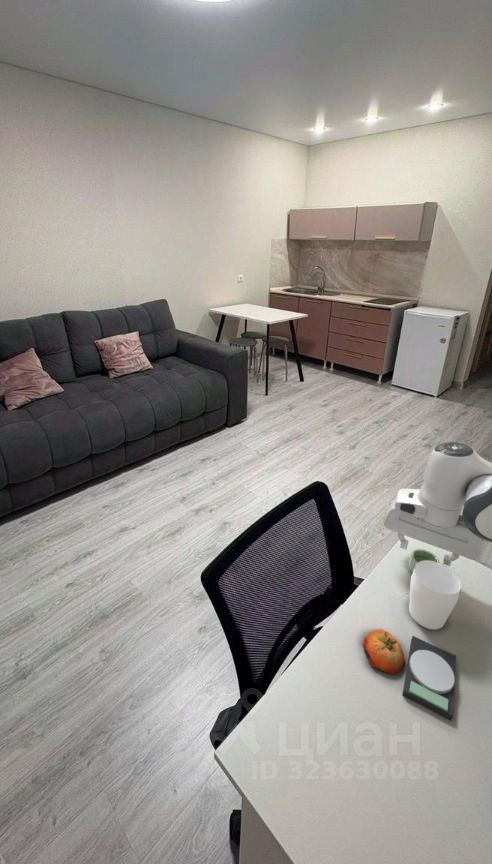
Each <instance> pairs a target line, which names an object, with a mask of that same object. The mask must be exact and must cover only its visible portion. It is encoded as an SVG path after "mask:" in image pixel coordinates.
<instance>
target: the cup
mask: <svg viewBox="0 0 492 864" xmlns="http://www.w3.org/2000/svg"><path fill="white" fill-rule="evenodd" d="M409 586H410V587H409V607H408V610H409V614H410V616H411V617H412V619H413V620H415V622H416V623H417V624H419V625H420V626H421V627H424V628H426V629H430V630H439V629H441V628H443V626H445V623H446V622H447V620H448V619H449V617H450V615H451V613H452V612H453V610H454V608H455V606H456V605H457V603H458V601H459V599H460V593H461V589H462V581H461V579H460V577H459V576H458V575H457V573H456V572H455V571H454V570H452V568H450V567H449V566H448V565H445V564H443V563H441V562H440V563H438V562H435V561H430V560H424V561H420V562H418V563H417V564H416V565H415V568H414V571H413V573H412V574H411V576H410V585H409Z"/></svg>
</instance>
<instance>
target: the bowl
mask: <svg viewBox="0 0 492 864" xmlns="http://www.w3.org/2000/svg"><path fill="white" fill-rule="evenodd" d="M424 560H430V561H435V562H438V563H441V562H440V559H439V558H438V557H437V555H435V554H434V553H433V552H432V551H430V550H427V549H423V548H417V549H413V550H412V551H411V552H410V557H409V560H408V561H409V562H408V568H409V570H410V571H411V573H412V574H413V571H414V568H415V565H416V564H417V563H418V562H420V561H424Z"/></svg>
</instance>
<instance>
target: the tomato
mask: <svg viewBox="0 0 492 864" xmlns="http://www.w3.org/2000/svg"><path fill="white" fill-rule="evenodd" d="M363 638H364V639H363V642H362V647H363V648H364V650H365V651H366V652H367V653H368V654H365V655H366V657H368V655H369V657H368V664H369V666H371V667H373V668H376V669H378V670H380V671H382V672H384V673H385V674H389V675H397V674H399V673H400V672H401V671H402V670H403V669H404V667H405V662H406V661H405V654H404V651H403V648H402V647H401V644H400V643H399V641H397V639H396V638H395V637H393V635H392V634H391V633H390V632H388V631H387V630H383V629H375V630H372V631H370V632H369V633H368V634H367V636H364V637H363Z"/></svg>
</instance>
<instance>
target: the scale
mask: <svg viewBox="0 0 492 864" xmlns="http://www.w3.org/2000/svg"><path fill="white" fill-rule="evenodd" d="M407 657H408V658H407V663H406V670H405V676H404V682H403V688H402V694H401V695H402V696H403V697H404V698H406V699H409V700H410V701H412V702H414V703H416V704H418V705H420V706H422V707H423V708H425V709H428V710H429V711H431V712H433V713H435V714H436V715H438V716H441V717H443V718H444V719H446V720H447V721H450V722H452V720H453V718H454V709H455V707H454V706H455V687H456V667H457V655H456V654H454V653H451V652H449V651H448V650H445V649H442V648H440V647H438V646H436V645H434V644H431V643H430V642H427V641H426V640H423V639H421V638H418V637H416V636H414V635H412V636H411V639H410V646H409V651H408V656H407Z"/></svg>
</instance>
